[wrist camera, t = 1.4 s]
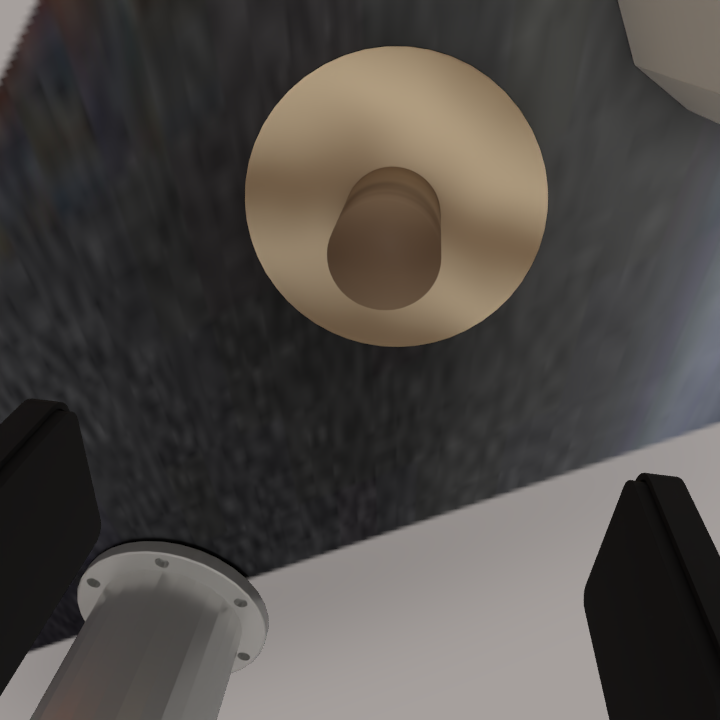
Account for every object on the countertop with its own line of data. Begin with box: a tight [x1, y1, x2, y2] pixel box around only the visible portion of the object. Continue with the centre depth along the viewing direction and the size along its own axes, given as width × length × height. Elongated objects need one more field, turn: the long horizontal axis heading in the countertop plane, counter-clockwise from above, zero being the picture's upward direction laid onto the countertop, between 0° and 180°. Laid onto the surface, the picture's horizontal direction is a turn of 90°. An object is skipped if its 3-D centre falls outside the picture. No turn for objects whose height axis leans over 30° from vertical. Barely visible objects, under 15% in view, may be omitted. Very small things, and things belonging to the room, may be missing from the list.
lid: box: [245, 46, 548, 347], centre depth 24 cm, size 13×13×6 cm
